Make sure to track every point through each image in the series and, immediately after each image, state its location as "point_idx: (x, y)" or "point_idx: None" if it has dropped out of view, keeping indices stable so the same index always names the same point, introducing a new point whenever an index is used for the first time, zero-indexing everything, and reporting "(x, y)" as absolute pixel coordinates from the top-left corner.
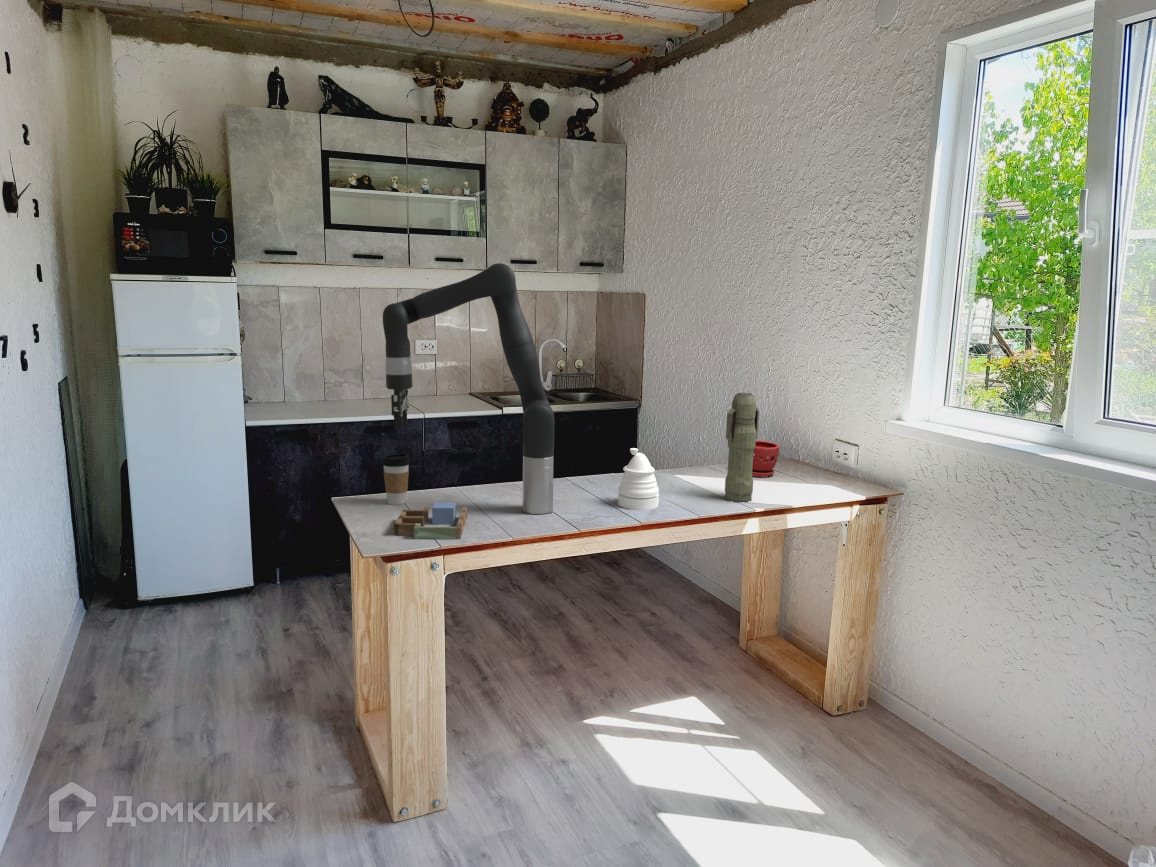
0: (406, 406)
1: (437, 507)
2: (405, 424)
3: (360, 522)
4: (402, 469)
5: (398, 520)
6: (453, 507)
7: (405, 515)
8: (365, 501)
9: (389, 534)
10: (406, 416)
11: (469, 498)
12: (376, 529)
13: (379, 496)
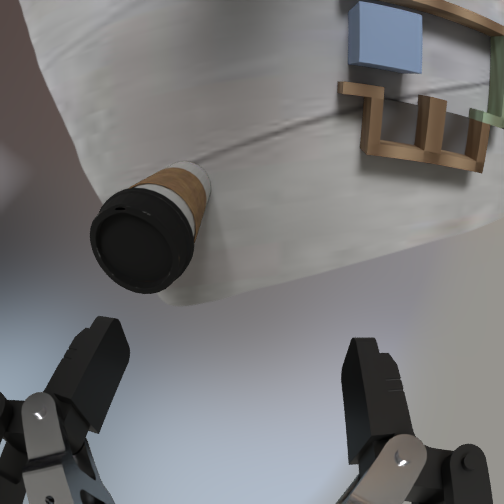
0: (66, 463)
1: (416, 57)
2: (119, 323)
3: (368, 245)
4: (177, 204)
5: (457, 163)
6: (415, 13)
7: (394, 145)
8: None
9: (462, 175)
10: (87, 368)
11: (134, 2)
12: (425, 205)
13: None
